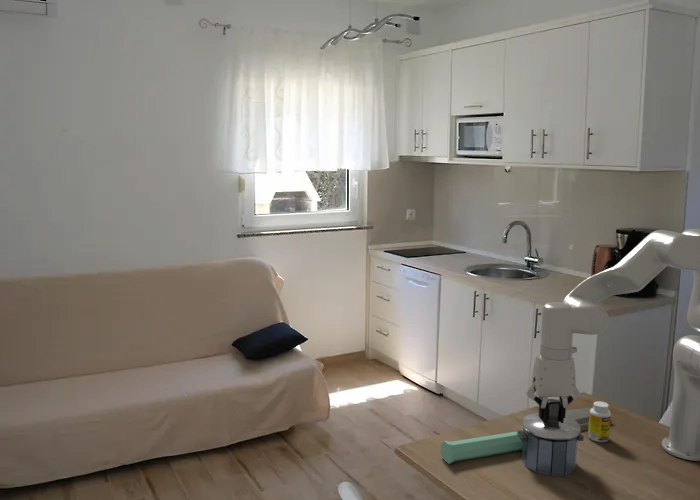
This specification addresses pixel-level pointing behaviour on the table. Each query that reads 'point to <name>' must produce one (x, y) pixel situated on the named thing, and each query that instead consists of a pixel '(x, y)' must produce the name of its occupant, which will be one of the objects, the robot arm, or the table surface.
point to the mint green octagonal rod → (480, 447)
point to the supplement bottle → (599, 422)
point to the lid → (552, 424)
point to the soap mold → (580, 417)
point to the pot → (549, 454)
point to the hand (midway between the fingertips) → (551, 420)
